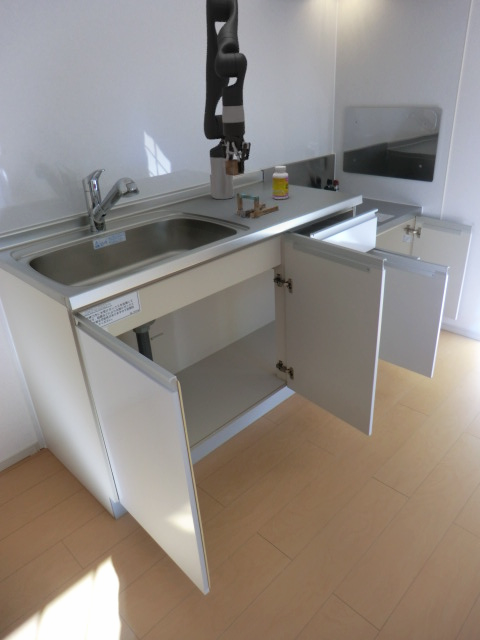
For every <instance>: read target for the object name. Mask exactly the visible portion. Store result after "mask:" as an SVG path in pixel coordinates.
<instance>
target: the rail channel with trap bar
mask: <svg viewBox="0 0 480 640" xmlns="http://www.w3.org/2000/svg"><path fill="white" fill-rule="evenodd" d="M236 198H237V199H236V200H237V201H236V202H237V211H236V213H237V216H240V210H241V209H244V206H243V205H244V204H243V199H246V200H252V201H253V206H254V212H253V213H250V217H249V218H250V219H253V218H260V216H263V215H266V214H270V213H272V212H276V211H279V205H275V206H271V207H267V208H266V206H267V205H266V203H264V202H263V203H260V196H258V195H252V194H246V193H243V192H238V193H236ZM259 206H262V210H259Z"/></svg>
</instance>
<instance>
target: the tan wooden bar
mask: <svg viewBox="0 0 480 640" xmlns="http://www.w3.org/2000/svg"><path fill="white" fill-rule="evenodd" d="M259 210H263V208H262V206H259ZM253 212H254V205H252V206H248V207H245V208H243V209H241V210H240V215H239V216H240V218H245V219H246V218H250V213H253Z"/></svg>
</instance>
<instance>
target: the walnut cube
mask: <svg viewBox="0 0 480 640" xmlns="http://www.w3.org/2000/svg"><path fill="white" fill-rule="evenodd" d="M225 169H226V175H233V177H236V176H239V175H243V174H245V171H244V172H243V173H238V160H237V158H233V159H232V160H228V161H225Z"/></svg>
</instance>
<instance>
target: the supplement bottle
mask: <svg viewBox="0 0 480 640" xmlns="http://www.w3.org/2000/svg"><path fill="white" fill-rule="evenodd" d="M274 171H275V172H274V173H273V174H272V198H273V199H274V200H286V199H288V198H289V192H290V191H289V173H287V172H286V171H287V166H285V165H276V166H274Z"/></svg>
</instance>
